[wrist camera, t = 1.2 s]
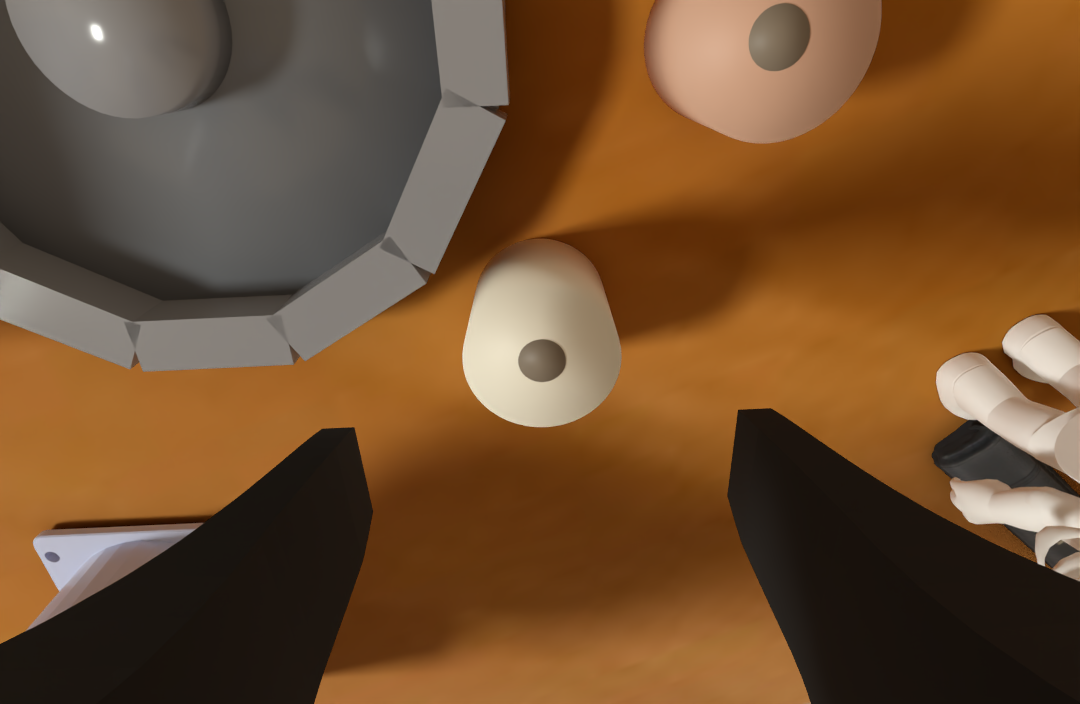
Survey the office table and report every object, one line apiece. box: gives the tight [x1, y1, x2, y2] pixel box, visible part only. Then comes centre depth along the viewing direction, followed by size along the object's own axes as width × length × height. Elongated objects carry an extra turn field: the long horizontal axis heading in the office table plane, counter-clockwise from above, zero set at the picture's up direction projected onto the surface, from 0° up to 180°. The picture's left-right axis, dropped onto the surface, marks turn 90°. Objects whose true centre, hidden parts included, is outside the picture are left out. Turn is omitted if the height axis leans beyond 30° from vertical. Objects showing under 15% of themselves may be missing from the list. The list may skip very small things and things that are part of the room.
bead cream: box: [462, 239, 621, 427], centre depth 17 cm, size 4×4×4 cm
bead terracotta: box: [644, 0, 882, 143], centre depth 14 cm, size 4×4×4 cm
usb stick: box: [932, 420, 1080, 568], centre depth 22 cm, size 10×3×2 cm, turn 50°
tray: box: [0, 0, 510, 372], centre depth 14 cm, size 17×17×2 cm
